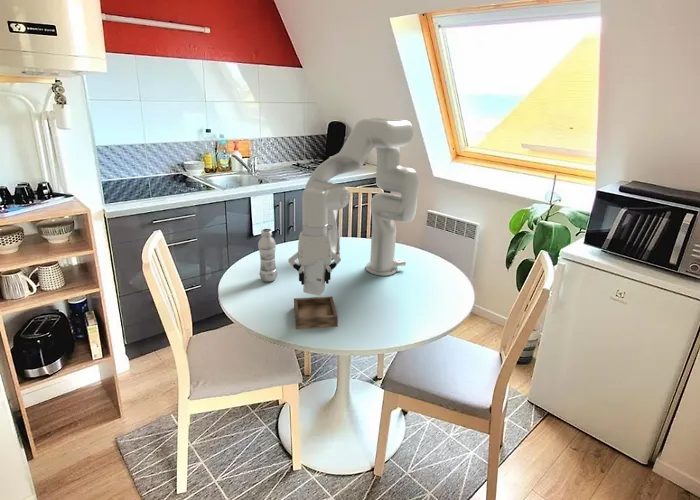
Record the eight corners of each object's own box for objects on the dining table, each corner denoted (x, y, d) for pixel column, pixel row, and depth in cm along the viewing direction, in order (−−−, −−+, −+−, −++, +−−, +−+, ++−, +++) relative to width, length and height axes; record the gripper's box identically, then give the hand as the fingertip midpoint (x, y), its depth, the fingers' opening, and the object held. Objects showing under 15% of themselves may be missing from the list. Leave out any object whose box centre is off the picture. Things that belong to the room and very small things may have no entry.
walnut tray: (332, 305, 150) (332, 296, 149) (337, 326, 138) (337, 316, 137) (294, 307, 148) (293, 298, 147) (296, 328, 136) (295, 319, 135)
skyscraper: (339, 261, 185) (341, 196, 174) (320, 260, 185) (320, 196, 174) (340, 253, 192) (341, 191, 182) (321, 252, 192) (322, 190, 182)
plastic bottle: (280, 277, 168) (278, 228, 160) (271, 285, 162) (269, 234, 154) (265, 274, 170) (263, 226, 162) (256, 282, 164) (253, 232, 156)
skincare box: (302, 292, 138) (302, 257, 133) (308, 286, 142) (308, 252, 137) (321, 296, 136) (321, 260, 132) (326, 290, 140) (326, 255, 136)
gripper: (341, 224, 136) (340, 276, 143) (285, 225, 133) (286, 278, 140) (345, 232, 129) (343, 286, 136) (286, 234, 126) (287, 289, 133)
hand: (314, 282), depth 138 cm, fingers closed on skincare box, 7 cm apart
